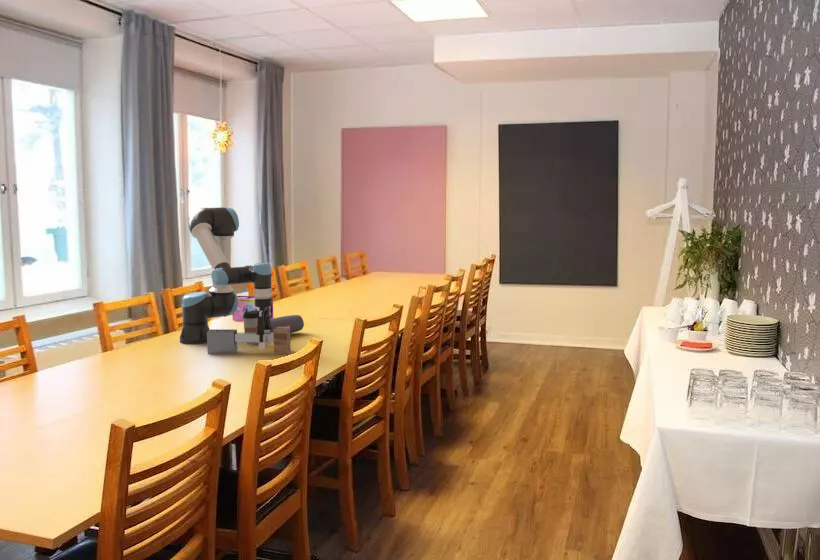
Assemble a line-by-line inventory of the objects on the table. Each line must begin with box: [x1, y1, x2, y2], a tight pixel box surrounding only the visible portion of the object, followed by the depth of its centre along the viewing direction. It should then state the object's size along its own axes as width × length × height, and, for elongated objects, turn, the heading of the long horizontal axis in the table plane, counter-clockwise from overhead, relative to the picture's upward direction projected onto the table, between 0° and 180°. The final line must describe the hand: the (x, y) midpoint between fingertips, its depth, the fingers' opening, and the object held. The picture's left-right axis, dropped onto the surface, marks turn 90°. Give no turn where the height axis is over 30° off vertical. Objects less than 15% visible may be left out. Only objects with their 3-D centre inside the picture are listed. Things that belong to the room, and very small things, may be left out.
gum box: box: [232, 295, 274, 322], centre depth 407 cm, size 24×8×14 cm, turn 69°
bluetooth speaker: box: [264, 314, 305, 336], centre depth 362 cm, size 23×9×10 cm, turn 143°
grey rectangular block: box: [206, 328, 239, 355], centre depth 326 cm, size 6×12×10 cm, turn 89°
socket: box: [273, 327, 292, 355], centre depth 325 cm, size 8×6×11 cm
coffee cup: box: [243, 311, 259, 345], centre depth 345 cm, size 8×8×15 cm
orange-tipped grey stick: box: [234, 332, 274, 343], centre depth 325 cm, size 4×25×4 cm, turn 90°
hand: (264, 346), depth 326 cm, fingers open, 10 cm apart
